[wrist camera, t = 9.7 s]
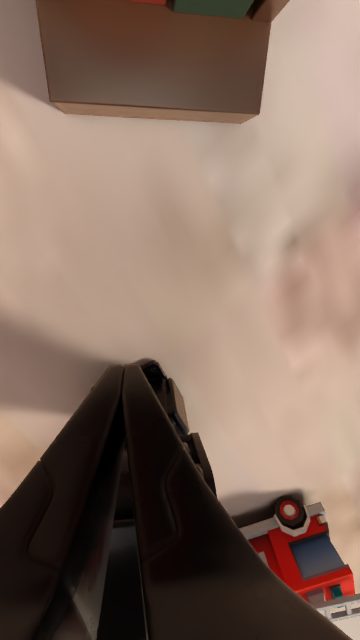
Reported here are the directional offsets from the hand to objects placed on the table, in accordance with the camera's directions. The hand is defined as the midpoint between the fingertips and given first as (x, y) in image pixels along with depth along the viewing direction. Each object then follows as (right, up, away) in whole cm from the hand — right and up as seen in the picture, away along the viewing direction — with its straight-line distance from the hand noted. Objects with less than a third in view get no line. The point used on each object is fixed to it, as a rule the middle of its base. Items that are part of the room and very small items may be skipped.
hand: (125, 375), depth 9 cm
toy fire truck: (+11, -26, +30) cm, 41 cm away
